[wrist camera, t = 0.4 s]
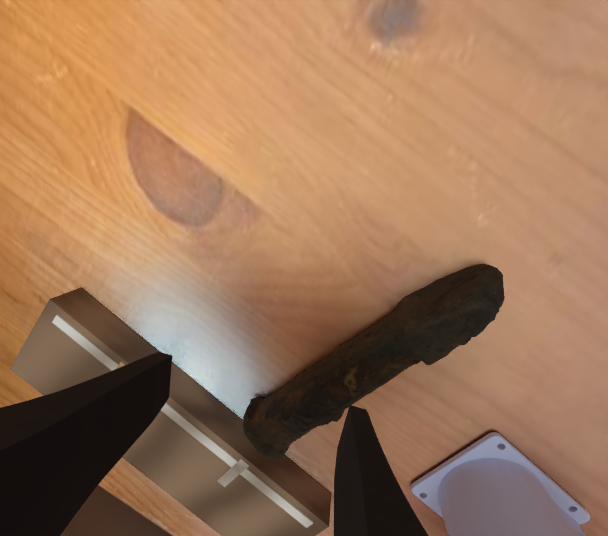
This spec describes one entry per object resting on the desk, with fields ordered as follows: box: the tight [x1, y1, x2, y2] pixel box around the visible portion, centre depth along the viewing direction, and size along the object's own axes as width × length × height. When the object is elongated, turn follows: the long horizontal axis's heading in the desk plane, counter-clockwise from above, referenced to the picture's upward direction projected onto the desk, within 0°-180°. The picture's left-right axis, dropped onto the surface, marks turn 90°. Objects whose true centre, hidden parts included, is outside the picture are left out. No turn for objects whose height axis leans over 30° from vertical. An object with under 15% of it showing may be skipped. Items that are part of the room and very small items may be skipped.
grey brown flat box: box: [10, 288, 331, 536], centre depth 23 cm, size 26×8×3 cm, turn 49°
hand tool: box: [243, 264, 504, 460], centre depth 19 cm, size 19×4×5 cm, turn 130°
